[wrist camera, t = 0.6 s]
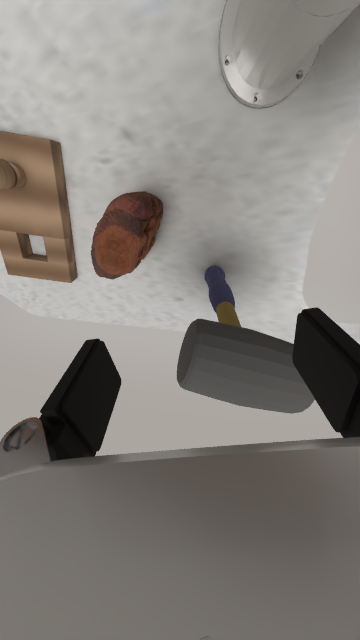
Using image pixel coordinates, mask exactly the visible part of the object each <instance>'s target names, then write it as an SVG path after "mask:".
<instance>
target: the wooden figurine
mask: <svg viewBox="0 0 360 640" xmlns="http://www.w3.org/2000/svg"><path fill="white" fill-rule="evenodd" d="M162 214H163V204H162V202H161V201H160V200H159V199H158V198H157V197H155V196H154V195H152V194H149V193H147V192H132V193H126V194H123V195H121V196H119V197H117V198H115V199H114V200H113V201H112V202H111V203H110V204H109V206H108V207H107V209H106V211H105V213H104V215H103V217H102V219H101V220H100V221H99V222H98V223H97V227H96V229H95V232H94V236H93V244H92V250H91V255H92V258H91V259H92V263H93V266H94V269H95V272H96V274H97V275H98V276H100V277H105V278H108V279H115V278H117V277H120V276H122V275H125V274H127V273H131V272H132V271H133V270H134V269H135V268H136V267H137V266H138V265H139V264H140V262H141V260H143V259H144V258H145V257H146V255H147V254H148V252H149V251H150V249H151V247H152V246H153V244H154V242H155V237H154V235H155V234H156V233H157V231H158V229H159V227H160V221H161V218H162Z"/></svg>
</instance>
